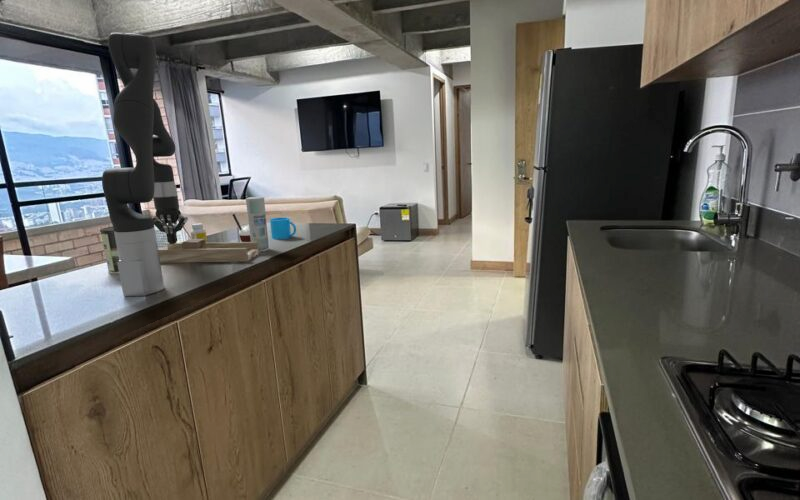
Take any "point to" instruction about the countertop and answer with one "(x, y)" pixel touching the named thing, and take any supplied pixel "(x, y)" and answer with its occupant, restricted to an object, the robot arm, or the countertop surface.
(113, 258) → the coffee can
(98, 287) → the countertop surface
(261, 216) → the spray can
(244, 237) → the cocoa
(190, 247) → the walnut block
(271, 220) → the mug
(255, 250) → the frame
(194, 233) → the supplement bottle
